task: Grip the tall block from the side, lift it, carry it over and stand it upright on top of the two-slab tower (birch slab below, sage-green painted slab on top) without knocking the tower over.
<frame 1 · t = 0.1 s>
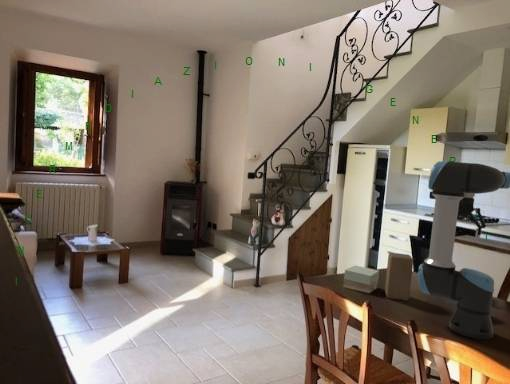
hand: (460, 239, 206), 28 cm above the table, tool pointing down, fingers open, 13 cm apart
block: (396, 297, 196), on the table
tower base slab: (360, 287, 207), on the table, touching tower top slab
tower top slab: (361, 279, 206), point 4 cm above the table, touching tower base slab
teapot: (460, 296, 205), on the table
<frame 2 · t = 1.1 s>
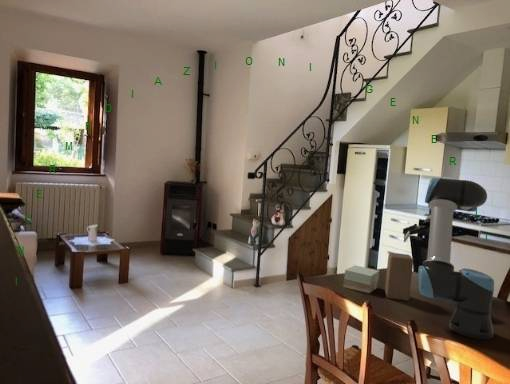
hand: (418, 243, 201), 25 cm above the table, tool tilted 70°, fingers open, 13 cm apart
nothing on the table moved.
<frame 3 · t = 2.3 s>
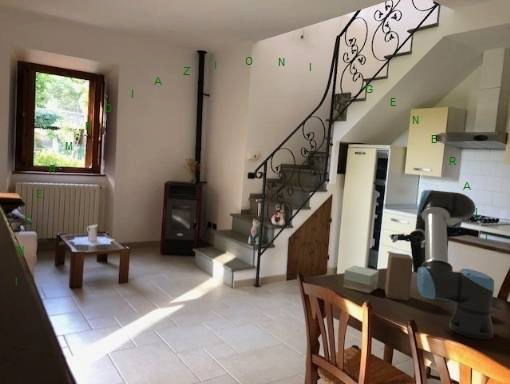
hand: (407, 242, 202), 25 cm above the table, tool horizontal, fingers open, 13 cm apart
nothing on the table moved.
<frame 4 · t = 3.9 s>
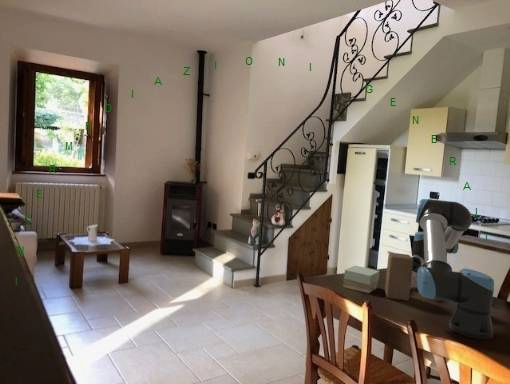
hand: (403, 270, 202), 11 cm above the table, tool horizontal, fingers open, 13 cm apart
nothing on the table moved.
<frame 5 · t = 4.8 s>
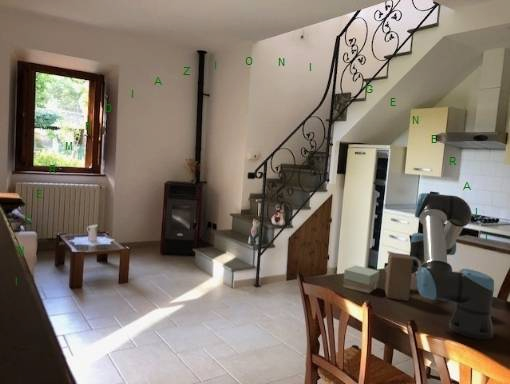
hand: (400, 272, 198), 11 cm above the table, tool horizontal, fingers open, 13 cm apart
nothing on the table moved.
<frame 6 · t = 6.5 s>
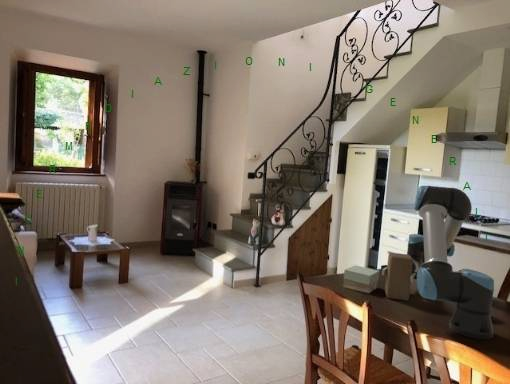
hand: (396, 275, 192), 11 cm above the table, tool horizontal, fingers closed on block, 12 cm apart
block: (396, 297, 196), on the table, touching gripper
tower base slab: (360, 287, 207), on the table
tower top slab: (361, 279, 206), point 4 cm above the table
everything else where it was.
when the fingers open (21 cm above the table, at t = 12.2 s): block drops 2 cm, resting on tower top slab.
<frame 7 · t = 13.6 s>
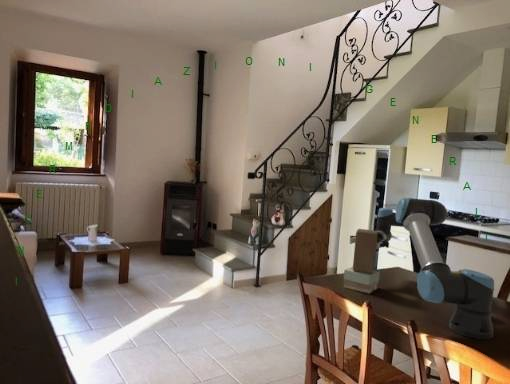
hand: (363, 243, 205), 22 cm above the table, tool horizontal, fingers open, 13 cm apart
block: (363, 270, 206), point 8 cm above the table, touching gripper, tower top slab
tower base slab: (360, 288, 206), on the table, touching tower top slab
tower top slab: (361, 279, 206), point 4 cm above the table, touching block, tower base slab
everything else where it was.
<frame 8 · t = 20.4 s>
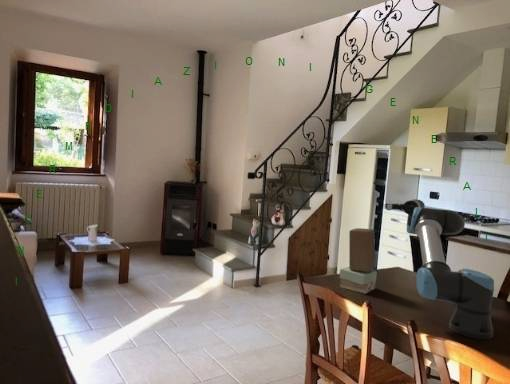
hand: (401, 209, 208), 40 cm above the table, tool horizontal, fingers open, 13 cm apart
block: (362, 270, 206), point 9 cm above the table
tower base slab: (357, 288, 206), on the table, touching tower top slab
tower top slab: (357, 279, 206), point 4 cm above the table, touching tower base slab
everything else where it was.
at the end: block inside the target area on the tower top slab (1.8 cm from its centre), point 5.3 cm above the tower top slab's base; tower top slab 0.6 cm off-centre on the tower base slab, point 4.5 cm above the tower base slab's base; block tilted 10° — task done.
